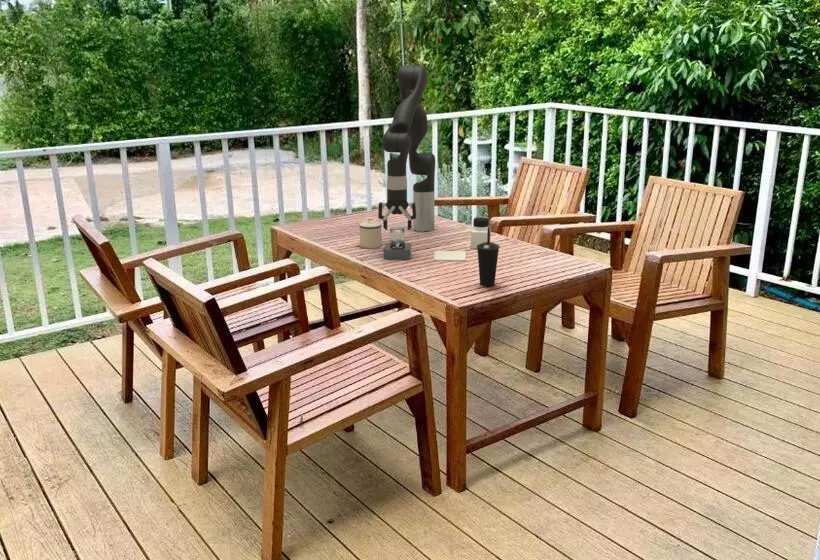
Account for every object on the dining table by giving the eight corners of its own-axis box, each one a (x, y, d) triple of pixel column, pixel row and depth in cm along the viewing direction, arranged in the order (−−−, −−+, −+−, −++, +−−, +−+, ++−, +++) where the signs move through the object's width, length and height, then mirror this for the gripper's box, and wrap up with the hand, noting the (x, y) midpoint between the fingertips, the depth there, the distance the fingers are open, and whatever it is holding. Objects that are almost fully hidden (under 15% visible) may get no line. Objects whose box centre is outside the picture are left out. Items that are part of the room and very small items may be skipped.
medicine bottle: (488, 249, 292) (489, 219, 288) (470, 248, 293) (471, 219, 289) (490, 245, 298) (491, 215, 295) (472, 244, 300) (473, 215, 296)
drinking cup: (475, 288, 246) (476, 229, 240) (476, 281, 253) (477, 224, 247) (498, 289, 245) (499, 230, 239) (499, 282, 252) (500, 224, 246)
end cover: (391, 254, 286) (390, 226, 283) (405, 254, 286) (405, 226, 282) (389, 258, 281) (389, 230, 278) (404, 258, 281) (404, 230, 277)
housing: (386, 252, 288) (385, 242, 287) (411, 252, 288) (411, 242, 287) (383, 259, 279) (383, 249, 278) (409, 260, 278) (409, 249, 277)
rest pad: (434, 252, 288) (434, 250, 288) (465, 252, 287) (465, 251, 287) (433, 261, 277) (433, 259, 277) (465, 261, 276) (465, 259, 276)
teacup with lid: (386, 246, 297) (386, 218, 294) (367, 250, 292) (367, 221, 289) (370, 240, 307) (369, 212, 303) (351, 243, 301) (350, 216, 298)
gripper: (416, 185, 278) (416, 227, 283) (379, 185, 279) (379, 227, 284) (415, 189, 271) (415, 232, 276) (376, 189, 272) (377, 231, 277)
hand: (397, 229), depth 280 cm, fingers open, 8 cm apart
